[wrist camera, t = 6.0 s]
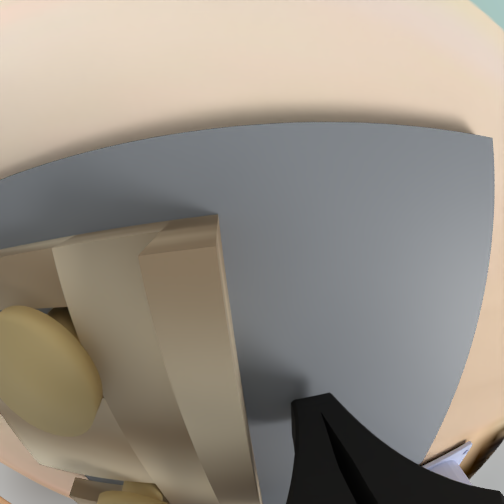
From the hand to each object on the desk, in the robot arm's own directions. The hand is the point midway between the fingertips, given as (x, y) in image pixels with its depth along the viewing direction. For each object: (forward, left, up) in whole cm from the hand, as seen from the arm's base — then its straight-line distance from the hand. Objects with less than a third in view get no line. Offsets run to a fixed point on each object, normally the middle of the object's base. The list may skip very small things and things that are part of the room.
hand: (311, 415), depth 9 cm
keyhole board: (0, +2, -1) cm, 2 cm away
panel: (0, +7, -1) cm, 7 cm away
